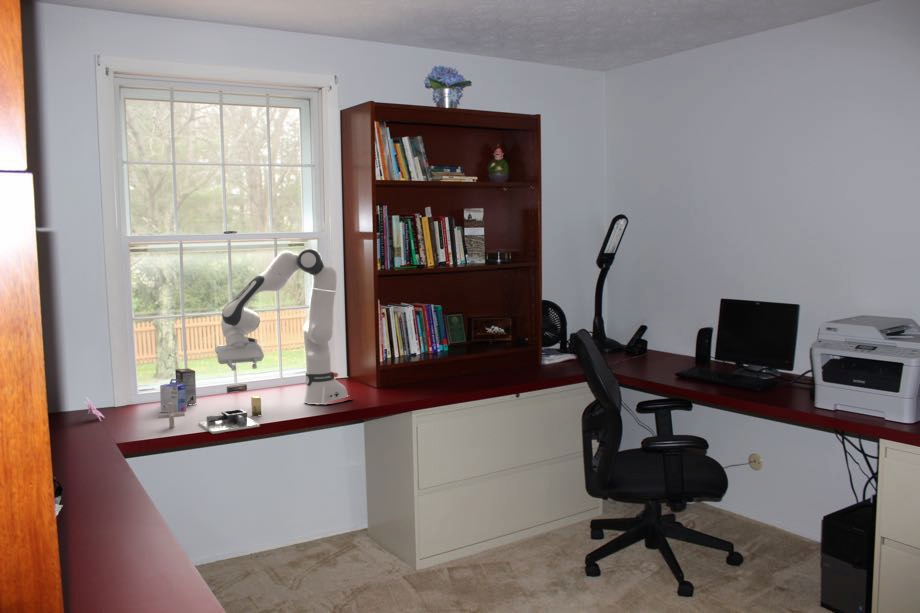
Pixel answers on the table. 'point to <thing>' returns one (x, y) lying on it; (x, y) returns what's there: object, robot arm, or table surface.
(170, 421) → the pipe connector
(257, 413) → the tan upright block
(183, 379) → the coffee box
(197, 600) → the table surface
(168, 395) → the ink cartridge box
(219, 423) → the base
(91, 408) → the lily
